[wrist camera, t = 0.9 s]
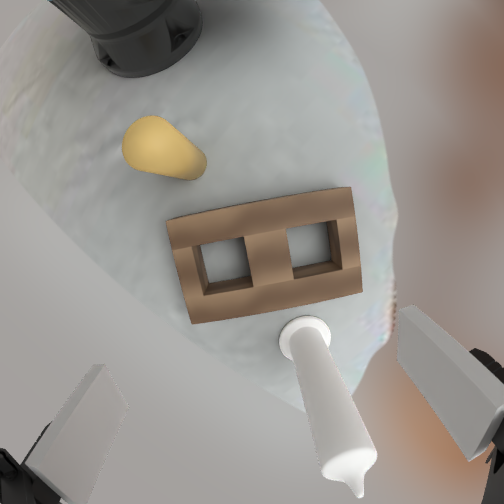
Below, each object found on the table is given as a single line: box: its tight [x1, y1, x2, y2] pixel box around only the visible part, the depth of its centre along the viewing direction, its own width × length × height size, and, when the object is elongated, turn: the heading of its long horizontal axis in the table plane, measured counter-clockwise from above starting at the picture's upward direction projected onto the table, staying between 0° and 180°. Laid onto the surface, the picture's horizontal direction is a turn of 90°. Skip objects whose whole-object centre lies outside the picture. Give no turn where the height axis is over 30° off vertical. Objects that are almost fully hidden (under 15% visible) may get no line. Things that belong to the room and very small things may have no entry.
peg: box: [122, 116, 207, 180], centre depth 25 cm, size 4×4×15 cm
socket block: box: [166, 187, 363, 324], centre depth 32 cm, size 12×20×4 cm, turn 101°
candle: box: [279, 316, 377, 498], centre depth 25 cm, size 7×7×25 cm
